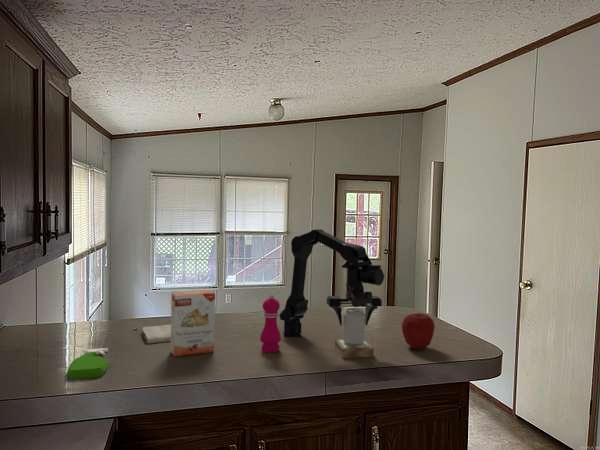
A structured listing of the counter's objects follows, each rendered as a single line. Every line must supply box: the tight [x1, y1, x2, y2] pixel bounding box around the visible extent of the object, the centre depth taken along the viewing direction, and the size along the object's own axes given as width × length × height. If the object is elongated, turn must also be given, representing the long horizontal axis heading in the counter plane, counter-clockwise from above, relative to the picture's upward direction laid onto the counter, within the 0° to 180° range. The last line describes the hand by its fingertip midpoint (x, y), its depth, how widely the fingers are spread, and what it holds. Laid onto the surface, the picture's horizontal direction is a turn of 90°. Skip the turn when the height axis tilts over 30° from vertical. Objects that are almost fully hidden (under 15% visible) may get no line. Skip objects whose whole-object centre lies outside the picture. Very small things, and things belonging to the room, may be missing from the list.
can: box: [342, 307, 366, 346], centre depth 165 cm, size 8×8×12 cm
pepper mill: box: [260, 293, 282, 354], centre depth 165 cm, size 7×7×20 cm
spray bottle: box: [66, 347, 109, 380], centre depth 148 cm, size 3×11×24 cm
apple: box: [401, 313, 436, 351], centre depth 172 cm, size 12×12×13 cm
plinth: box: [334, 338, 374, 359], centre depth 165 cm, size 11×11×3 cm
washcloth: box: [141, 324, 171, 344], centre depth 181 cm, size 12×18×3 cm, turn 26°
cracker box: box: [170, 289, 216, 357], centre depth 161 cm, size 14×6×21 cm, turn 117°
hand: (353, 325), depth 166 cm, fingers open, 9 cm apart
